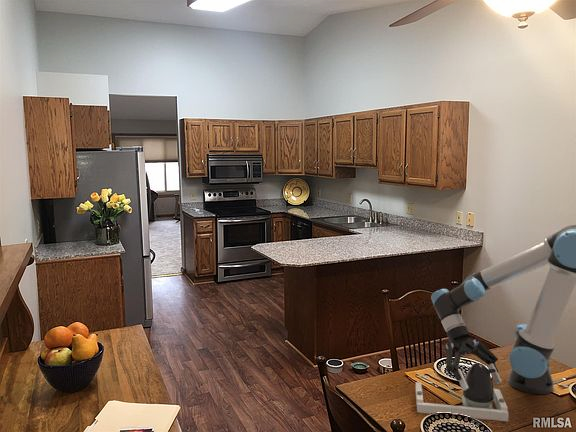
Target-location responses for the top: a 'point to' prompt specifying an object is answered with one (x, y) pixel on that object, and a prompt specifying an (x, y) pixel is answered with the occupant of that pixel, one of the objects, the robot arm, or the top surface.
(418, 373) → the top surface
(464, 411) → the track
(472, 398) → the dark grey tapered dome
